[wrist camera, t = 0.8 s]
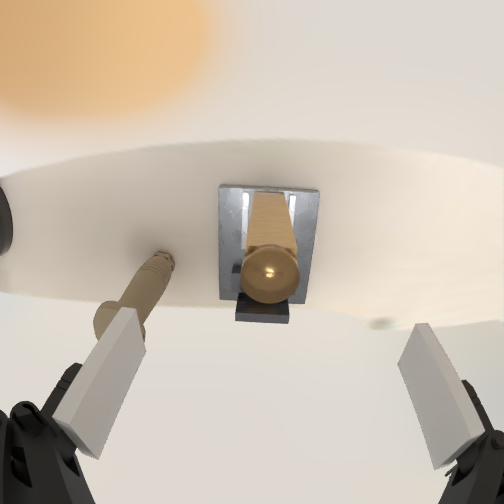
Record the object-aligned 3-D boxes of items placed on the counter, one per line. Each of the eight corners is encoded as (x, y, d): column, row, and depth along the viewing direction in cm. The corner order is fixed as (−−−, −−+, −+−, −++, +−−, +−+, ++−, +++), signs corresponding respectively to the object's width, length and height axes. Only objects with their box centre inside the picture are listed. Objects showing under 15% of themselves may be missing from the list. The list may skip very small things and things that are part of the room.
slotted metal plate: (221, 293, 39) (213, 323, 33) (220, 184, 32) (210, 199, 27) (303, 297, 38) (309, 328, 32) (317, 190, 32) (328, 206, 26)
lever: (251, 221, 32) (239, 301, 18) (252, 189, 31) (240, 250, 17) (283, 223, 32) (296, 304, 18) (286, 191, 31) (303, 253, 17)
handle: (182, 242, 36) (138, 315, 22) (179, 285, 39) (143, 366, 25) (147, 236, 36) (89, 302, 22) (146, 278, 38) (99, 353, 25)
